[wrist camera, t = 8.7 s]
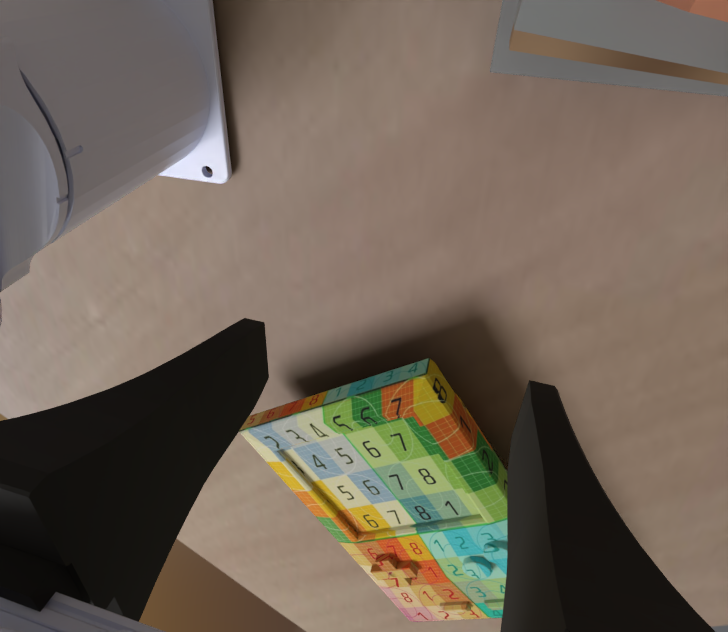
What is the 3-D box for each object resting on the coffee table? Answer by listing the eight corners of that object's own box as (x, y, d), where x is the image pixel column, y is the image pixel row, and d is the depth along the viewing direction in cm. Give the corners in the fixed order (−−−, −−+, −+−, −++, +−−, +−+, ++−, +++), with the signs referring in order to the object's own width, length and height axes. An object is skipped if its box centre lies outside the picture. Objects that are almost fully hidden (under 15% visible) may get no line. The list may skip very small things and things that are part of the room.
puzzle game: (413, 636, 35) (231, 443, 27) (422, 570, 39) (264, 384, 31) (588, 630, 30) (423, 387, 22) (580, 554, 33) (436, 323, 26)
